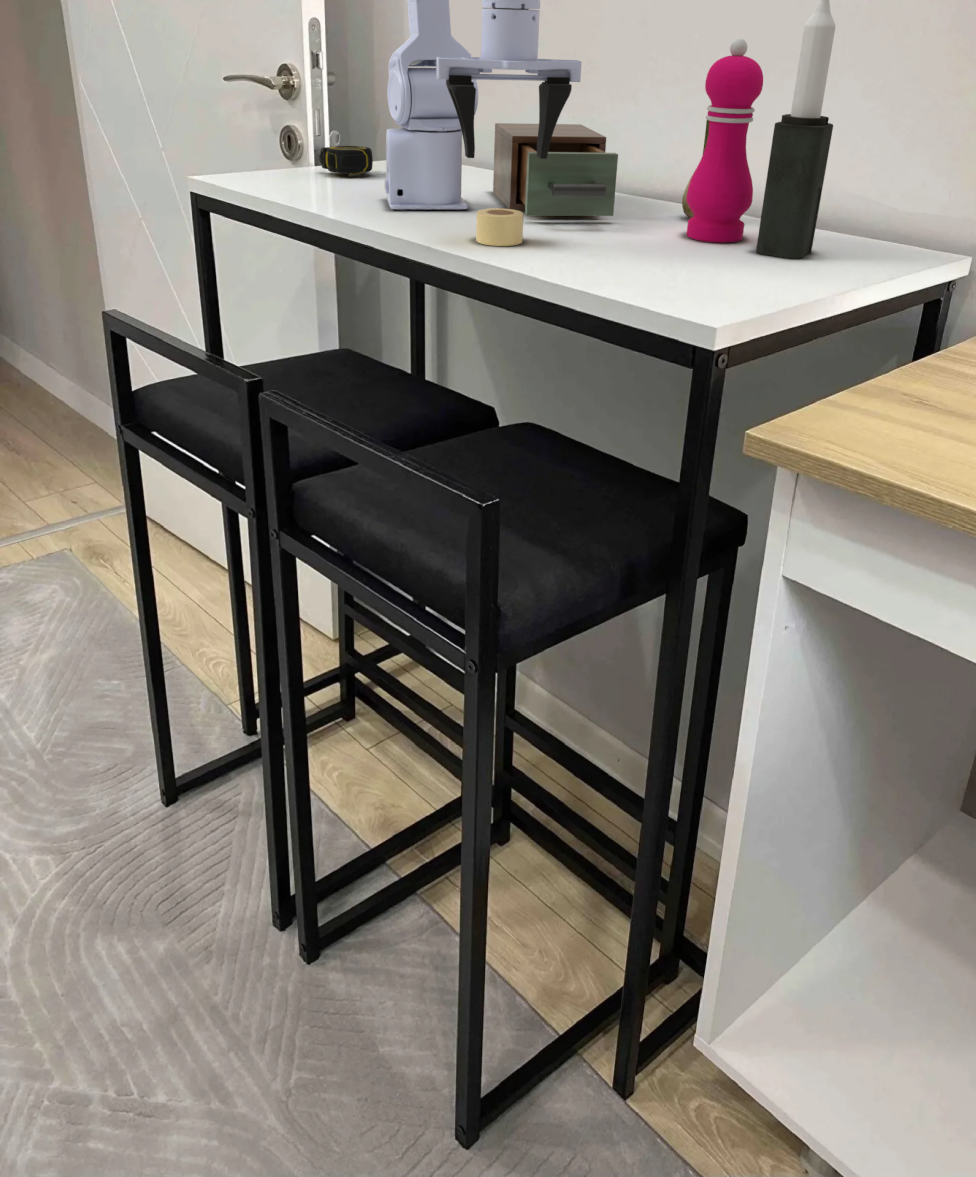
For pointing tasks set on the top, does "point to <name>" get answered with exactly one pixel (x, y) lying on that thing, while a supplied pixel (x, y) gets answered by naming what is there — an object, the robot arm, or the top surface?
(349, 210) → the top surface
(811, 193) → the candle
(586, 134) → the cabinet
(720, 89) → the pepper mill
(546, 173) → the drawer
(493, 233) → the tape roll
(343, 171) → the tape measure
